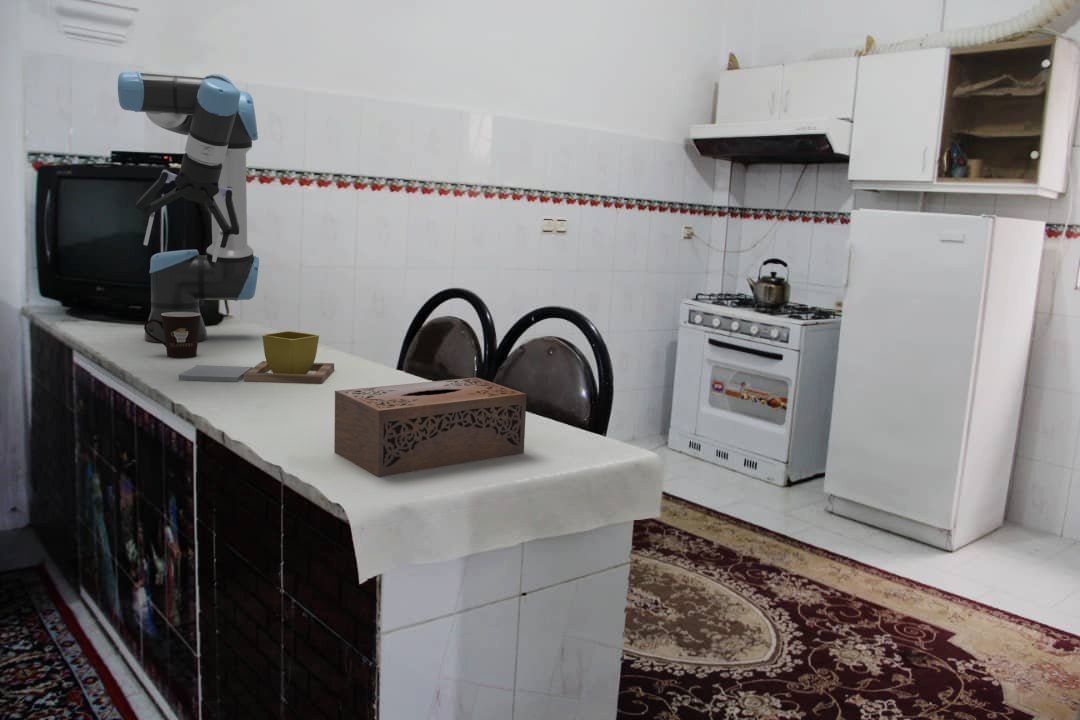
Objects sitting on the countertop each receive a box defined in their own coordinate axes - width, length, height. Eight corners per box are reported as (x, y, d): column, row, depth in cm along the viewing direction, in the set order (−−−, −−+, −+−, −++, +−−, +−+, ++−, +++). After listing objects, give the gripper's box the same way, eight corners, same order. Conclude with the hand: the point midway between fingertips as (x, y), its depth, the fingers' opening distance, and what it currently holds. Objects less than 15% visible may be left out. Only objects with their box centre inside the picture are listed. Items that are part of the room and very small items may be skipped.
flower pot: (320, 374, 196) (320, 334, 195) (293, 381, 188) (293, 339, 187) (288, 370, 200) (288, 330, 198) (261, 376, 192) (261, 334, 190)
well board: (262, 367, 201) (262, 360, 201) (334, 369, 202) (334, 363, 202) (243, 381, 186) (243, 374, 185) (321, 383, 187) (321, 376, 186)
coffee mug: (207, 354, 214) (207, 313, 213) (190, 360, 206) (189, 317, 204) (161, 351, 215) (160, 310, 214) (142, 357, 207) (141, 314, 205)
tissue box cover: (474, 434, 153) (476, 377, 151) (523, 455, 142) (526, 393, 140) (334, 454, 137) (334, 390, 135) (377, 479, 126) (378, 410, 124)
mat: (197, 369, 196) (197, 364, 195) (252, 371, 196) (252, 366, 196) (178, 380, 184) (178, 375, 184) (237, 381, 185) (237, 377, 184)
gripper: (134, 144, 169) (113, 242, 178) (267, 182, 180) (241, 273, 188) (139, 132, 176) (118, 227, 184) (266, 169, 186) (241, 258, 195)
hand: (180, 251), depth 186 cm, fingers open, 13 cm apart
